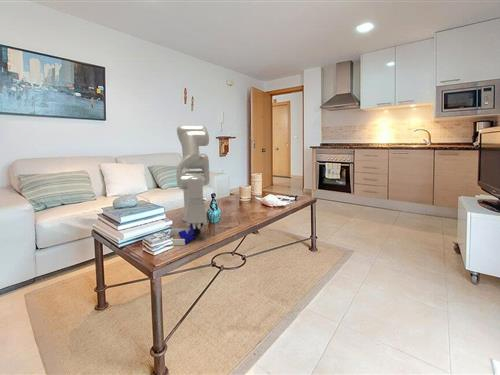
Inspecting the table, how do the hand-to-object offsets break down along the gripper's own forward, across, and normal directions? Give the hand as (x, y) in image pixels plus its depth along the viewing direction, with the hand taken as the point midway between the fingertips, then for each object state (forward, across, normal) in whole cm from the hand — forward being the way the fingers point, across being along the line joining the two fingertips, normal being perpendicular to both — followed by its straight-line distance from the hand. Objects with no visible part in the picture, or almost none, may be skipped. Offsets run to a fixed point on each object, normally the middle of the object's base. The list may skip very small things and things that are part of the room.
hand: (197, 235), depth 138 cm
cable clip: (+1, +4, 0) cm, 4 cm away
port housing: (+2, +10, -1) cm, 10 cm away
